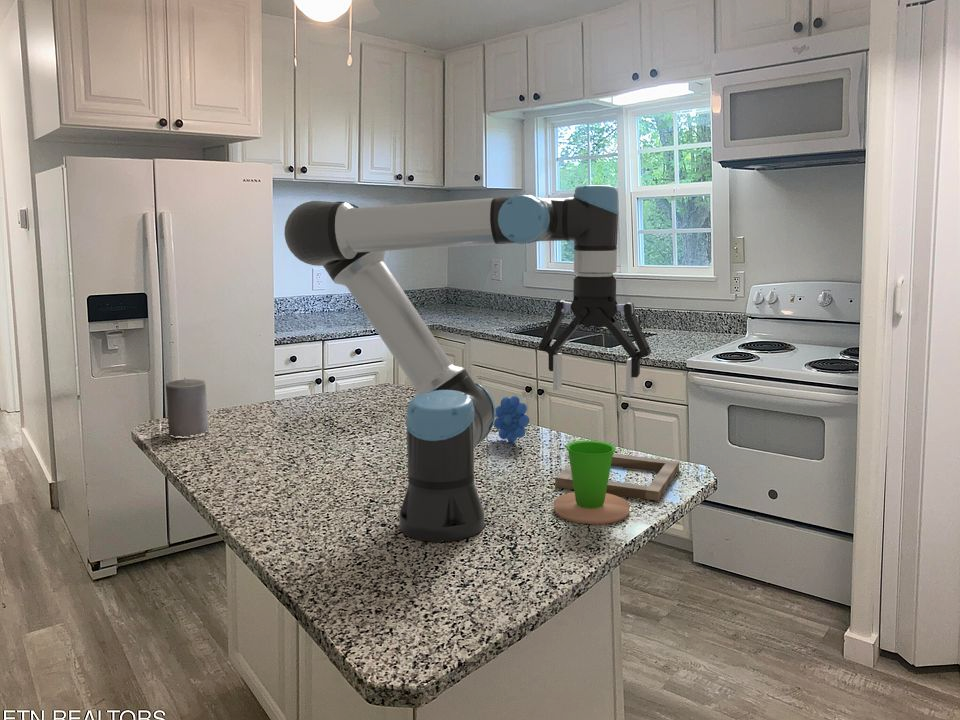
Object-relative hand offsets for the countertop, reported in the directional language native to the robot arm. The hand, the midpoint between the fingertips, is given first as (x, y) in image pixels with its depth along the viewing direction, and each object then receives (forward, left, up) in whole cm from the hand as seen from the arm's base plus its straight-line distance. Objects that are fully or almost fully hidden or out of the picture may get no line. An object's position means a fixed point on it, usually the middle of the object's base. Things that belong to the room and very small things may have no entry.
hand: (592, 391), depth 139 cm
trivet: (0, 0, -23) cm, 23 cm away
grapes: (+37, +31, -23) cm, 53 cm away
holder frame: (+20, 0, -23) cm, 30 cm away
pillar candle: (+10, +111, -23) cm, 114 cm away
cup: (0, 0, -22) cm, 22 cm away
